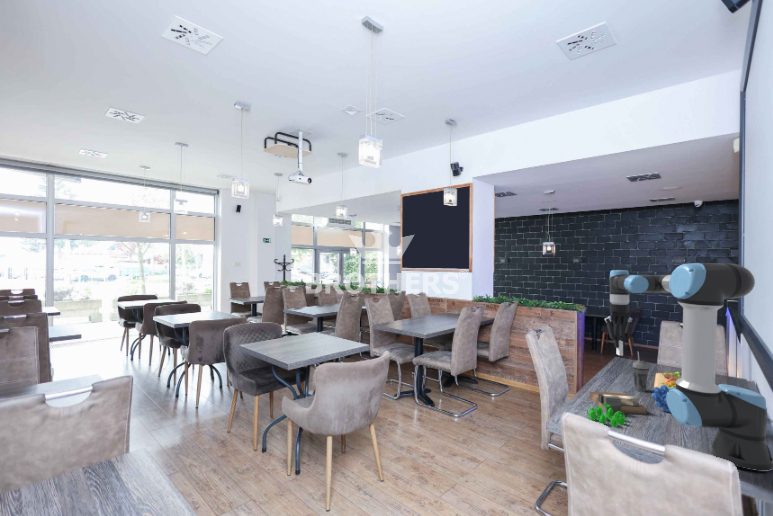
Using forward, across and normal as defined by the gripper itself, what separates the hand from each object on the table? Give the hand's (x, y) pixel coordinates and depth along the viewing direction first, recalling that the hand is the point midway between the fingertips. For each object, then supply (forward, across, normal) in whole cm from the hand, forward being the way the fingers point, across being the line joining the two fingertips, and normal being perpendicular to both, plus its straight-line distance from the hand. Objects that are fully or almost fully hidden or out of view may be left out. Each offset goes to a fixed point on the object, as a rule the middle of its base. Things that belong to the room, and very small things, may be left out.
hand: (619, 354), depth 171 cm
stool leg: (+21, -3, +5) cm, 22 cm away
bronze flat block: (+24, +1, -1) cm, 24 cm away
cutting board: (+24, -47, -31) cm, 61 cm away
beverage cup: (+24, -22, -23) cm, 40 cm away
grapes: (+24, -17, +6) cm, 30 cm away
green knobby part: (+25, +14, +16) cm, 32 cm away
